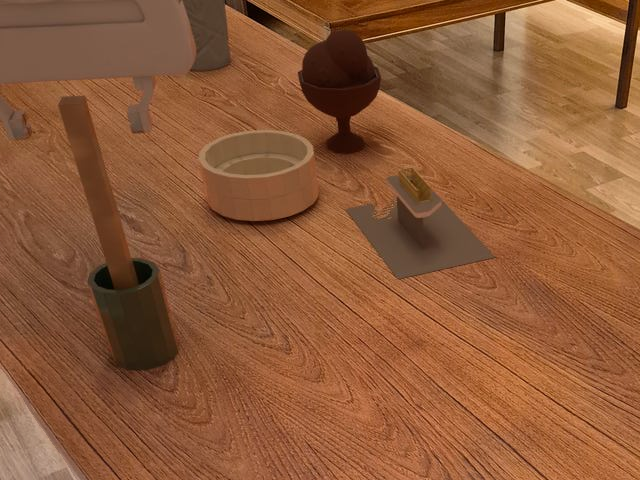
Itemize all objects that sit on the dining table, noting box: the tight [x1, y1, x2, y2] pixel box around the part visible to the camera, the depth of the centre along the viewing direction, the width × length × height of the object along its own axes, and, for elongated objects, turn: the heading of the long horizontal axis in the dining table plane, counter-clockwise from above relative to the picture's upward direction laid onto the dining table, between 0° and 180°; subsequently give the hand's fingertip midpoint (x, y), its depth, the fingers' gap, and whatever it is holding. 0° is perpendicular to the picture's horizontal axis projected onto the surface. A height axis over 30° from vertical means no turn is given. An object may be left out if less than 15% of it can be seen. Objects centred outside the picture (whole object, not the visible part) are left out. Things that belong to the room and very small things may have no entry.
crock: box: [86, 257, 180, 371], centre depth 84 cm, size 6×6×9 cm
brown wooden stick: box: [57, 95, 139, 290], centre depth 78 cm, size 2×3×24 cm, turn 9°
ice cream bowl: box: [297, 29, 382, 154], centre depth 118 cm, size 11×11×15 cm
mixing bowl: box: [198, 129, 320, 222], centre depth 109 cm, size 14×14×6 cm
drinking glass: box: [182, 0, 232, 72], centre depth 142 cm, size 10×10×12 cm
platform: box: [345, 166, 496, 280], centre depth 103 cm, size 12×18×7 cm, turn 25°
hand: (82, 134), depth 72 cm, fingers open, 8 cm apart
